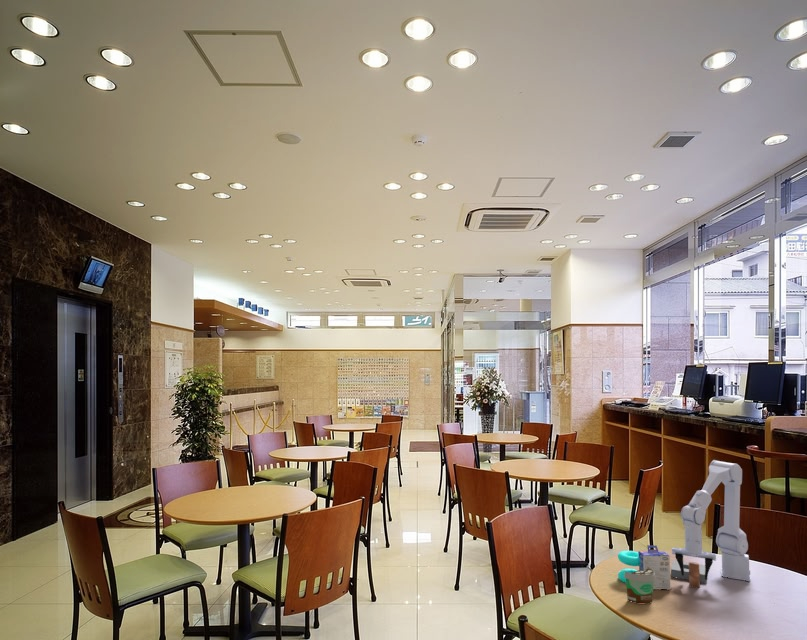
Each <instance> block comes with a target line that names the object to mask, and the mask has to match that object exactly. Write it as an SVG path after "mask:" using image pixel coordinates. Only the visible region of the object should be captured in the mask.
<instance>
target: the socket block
mask: <svg viewBox="0 0 807 640" xmlns="http://www.w3.org/2000/svg"><path fill="white" fill-rule="evenodd" d="M689 562H690V561H689ZM689 562H688V561H683V567H684V576H682V573H681V569H680V566H679V564H678V562H677V560H676V559H673V560H672V563H671V568H670V574H671V578H673V577H677V578H676V579H679V578H682V579H681V580H685V579H686V581H689ZM698 564H699V572H700V583H702V582H704V583H703V584H707V583H708V582H707V581H708V579H707V580H706V579H705V564H700V563H698Z"/></svg>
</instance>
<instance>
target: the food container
mask: <svg viewBox="0 0 807 640" xmlns="http://www.w3.org/2000/svg"><path fill="white" fill-rule="evenodd" d="M636 570H637V571H635V572H632V573H629V572H626V571H625V576H624V578H626V583H625V586H626V594H627V595H626V596H627V601H628V600H629V601H628V602H630V601H632V602H631V603H633V602H636V603H635V604H637V603H650V602H653V598H654V597H653V596H654V594H653V593H654V589H653V582H654V580H655V579H656V576H655V572H654V570H653V569H652V568H650V567H647V569H646V570H638V569H636ZM650 604H651V603H650Z"/></svg>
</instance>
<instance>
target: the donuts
mask: <svg viewBox="0 0 807 640" xmlns="http://www.w3.org/2000/svg"><path fill="white" fill-rule="evenodd" d="M617 559H618V561H619V562H621V563H622V564H624V565H626V566H630V567H639V566H640V558H639V554H638V551H635V550H622V551H619V552H618V554H617ZM637 570H638V569H634V568H624V569H621V570H619V571H618V574H617V576H618V579H619V581H621V582H623V583H624V582H625V584H626V578H624V576H625V571H626V572H629V573H632V572H635V571H637Z"/></svg>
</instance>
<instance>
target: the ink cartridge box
mask: <svg viewBox="0 0 807 640" xmlns="http://www.w3.org/2000/svg"><path fill="white" fill-rule="evenodd" d="M646 546H647V551H646V550H645V551H642V550H641V551H637V552H638V554H639V558H640V566H638V569H639V570H646V569H647V567H650V568H652V569H653V570H654V572H655V576H656V579H655V580H654V582H653V590H661V589H667V590H668V591H670V590H671V565H670V563H671V562H670V561H671V560H670V555H669V554H668V553H667V552H665V551H662V550H661V551H659V549H658V548H659V547H658V545H650V544H649V545H648V544H647V545H646ZM650 548H654V549H650Z"/></svg>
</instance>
